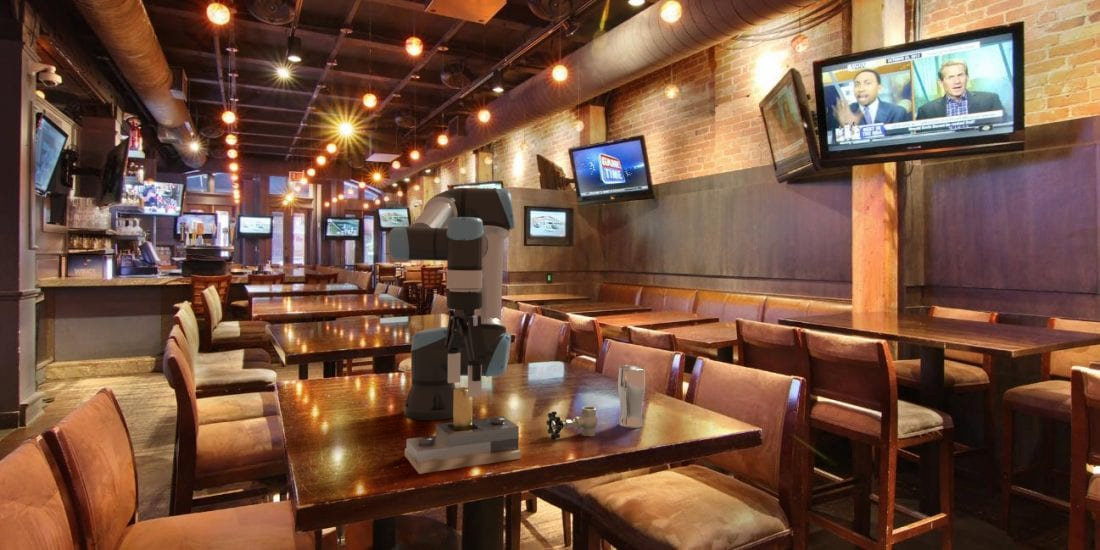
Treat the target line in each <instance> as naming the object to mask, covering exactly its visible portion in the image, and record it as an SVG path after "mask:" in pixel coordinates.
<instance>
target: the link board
mask: <svg viewBox="0 0 1100 550" xmlns="http://www.w3.org/2000/svg"><path fill="white" fill-rule="evenodd" d="M404 457H405V458H406V459H407V461H409V463H410V464H411V466H412V467H413V468H414V469H415V471H416V472H417V473H418V475H422V474H426V473H434V472H441V471H447V470H454V469H460V468H466V467H473V466H481V465H487V464H493V463H501V462H506V461H513V460H519V459H522V451H521V450H520V449H518V450H511V451H504V452H497V453H490V454H483V455H476V456H469V457H462V458H455V459H448V460H442V461H435V462H428V463H421V464H417V463H416V462H415V461H414V459H413V458H412V457H411V456H410V454H409V453H408V452H407V451H406V448H404Z"/></svg>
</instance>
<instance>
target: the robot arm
mask: <svg viewBox="0 0 1100 550" xmlns="http://www.w3.org/2000/svg"><path fill="white" fill-rule="evenodd" d="M424 204H425V205H424V207H423V209H422V212H421V213H420V214H419V215H418V216H417V218H416V219H415V220H414V221H413V222H412V223H410V225H409V226H407V227H406V226H399V227H393V228H392V229H391V230H390V232H389V236H388V252H389V255H390V257H391V258H392V259H393V260H398V261H407V262H409V261H432V262H433V261H434V262H435V261H439V262H441V261H443V262H446V263H447V264H446V265H447V266H446V288H447V289H448V291H447V292H446V308H447V309H449V312H448V321H447V323H448V324H447V326H445V327H444V326H443V327H433V328H428V329H423V330H419V331H417V332H415V333H414V334H413V335H412V338H411V348H410V352H411V355H410V356H411V357H410V358H411V359H410V361H411V364H410V367H411V369H410V375H411V376H410V381H411V382H410V383H411V384H410V389H409V391H408V395H407V398H406V401H405V404H404V409H403V411H404V413H403V415H404V416H405V417H406V418H408V419H411V420H416V421H417V420H418V421H440V420H446V419H447V420H448V419H452V418H453V401H454V389H455V388H456V386H455V385H456V383H461V377H462V376H463V377H466V376H467V388H468V397H472V398H474V397H482V393H483V392H482V385H483V384H482V382H483V380H482V378H483V377H486V378H489V377H498V376H502V375H504V374H505V373H506V370H507V368H508V367H507V366H508V362H509V358H510V351H511V342H512V335H511V333H509V332H507V327H506V325H505V324H504V323H503V322H502V301H503V300H502V299H503V297H502V296H503V275H504V274H503V272H504V270H503V269H504V246H505V244H504V243H505V239H507V238H508V237H509V236H510V230H513V229H515V216H514V215H515V214H514V207H513V198H512V194H511V192H510V190H508V189H507V188H496V187H494V188H493V187H492V188H491V187H490V188H487V187H485V188H482V187H474V188H473V187H471V188H470V187H455V188H451V189H448V190H444V191H442V192H439V193H437V194H436V195H434V196H432V197H431V198H430V199H428V201H427V202H426V203H424Z"/></svg>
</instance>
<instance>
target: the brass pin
mask: <svg viewBox="0 0 1100 550" xmlns="http://www.w3.org/2000/svg"><path fill="white" fill-rule="evenodd" d="M452 418H453V419H452V420H453V421H452V422H453V431H454V432H458V431H466V430H472V420H473V397H468V387H465V386H463V387H455V389H454V401H453V417H452Z"/></svg>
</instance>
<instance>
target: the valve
mask: <svg viewBox="0 0 1100 550" xmlns="http://www.w3.org/2000/svg"><path fill="white" fill-rule="evenodd" d="M596 410H597V408H596V407H595V406H589V405H587V406H582V407H581V416H573V418H572V419H565V420H564V421H563V420H561V417H560V416H556V415H557V411H551V412H548V414H547V418H548V419H547V420H546V425H547V426H548V429H547V433H548V435H550V439H551V440H556V439H560V437H561V434H560V432H561V431H562V429H563V428H565V429H567V428H574V430H580V429H581V436H583V435H584V437H587V436H590V437H595V436H596V428H597V426H598V417H597V416H596V415H597V413H596Z"/></svg>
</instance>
